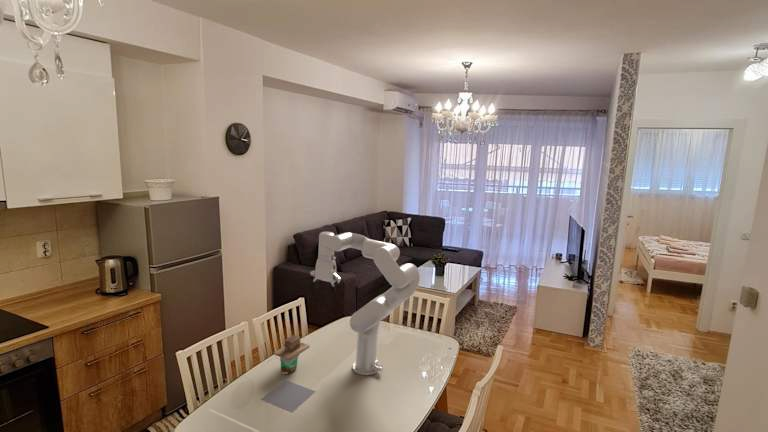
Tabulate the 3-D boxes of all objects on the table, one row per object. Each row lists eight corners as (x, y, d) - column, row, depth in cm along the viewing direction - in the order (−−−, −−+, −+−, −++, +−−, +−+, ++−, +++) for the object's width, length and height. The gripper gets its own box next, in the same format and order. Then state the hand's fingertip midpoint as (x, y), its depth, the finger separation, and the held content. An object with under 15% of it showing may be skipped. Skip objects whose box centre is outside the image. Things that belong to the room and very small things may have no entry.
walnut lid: (309, 347, 190) (309, 335, 189) (290, 360, 178) (290, 347, 177) (294, 342, 194) (294, 330, 193) (274, 354, 182) (274, 342, 181)
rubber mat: (315, 392, 173) (315, 391, 173) (291, 413, 159) (292, 412, 159) (285, 381, 180) (285, 380, 179) (260, 400, 165) (260, 399, 165)
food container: (292, 379, 181) (293, 358, 180) (279, 376, 183) (280, 356, 181) (303, 365, 193) (304, 345, 192) (291, 363, 194) (291, 343, 193)
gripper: (345, 258, 196) (343, 292, 199) (315, 252, 203) (314, 285, 206) (337, 262, 189) (335, 297, 192) (306, 256, 196) (305, 289, 199)
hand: (324, 291), depth 199 cm, fingers open, 9 cm apart
